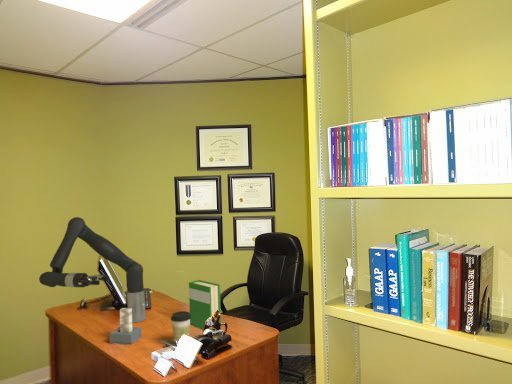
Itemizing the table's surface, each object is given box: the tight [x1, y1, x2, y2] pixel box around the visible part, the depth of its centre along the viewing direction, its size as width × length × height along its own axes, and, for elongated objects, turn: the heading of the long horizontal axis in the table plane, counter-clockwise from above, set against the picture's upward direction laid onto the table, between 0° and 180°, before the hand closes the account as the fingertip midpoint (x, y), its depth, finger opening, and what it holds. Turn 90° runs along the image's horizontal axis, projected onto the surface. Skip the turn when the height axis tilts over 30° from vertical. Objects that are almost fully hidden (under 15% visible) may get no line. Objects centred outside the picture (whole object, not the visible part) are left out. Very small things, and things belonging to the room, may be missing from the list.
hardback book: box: [188, 279, 222, 330], centre depth 209 cm, size 18×7×24 cm, turn 48°
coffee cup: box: [170, 311, 191, 342], centre depth 186 cm, size 10×10×15 cm
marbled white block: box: [119, 307, 133, 333], centre depth 193 cm, size 5×3×15 cm, turn 78°
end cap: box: [108, 326, 143, 346], centre depth 194 cm, size 12×10×5 cm
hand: (104, 280), depth 197 cm, fingers open, 8 cm apart
